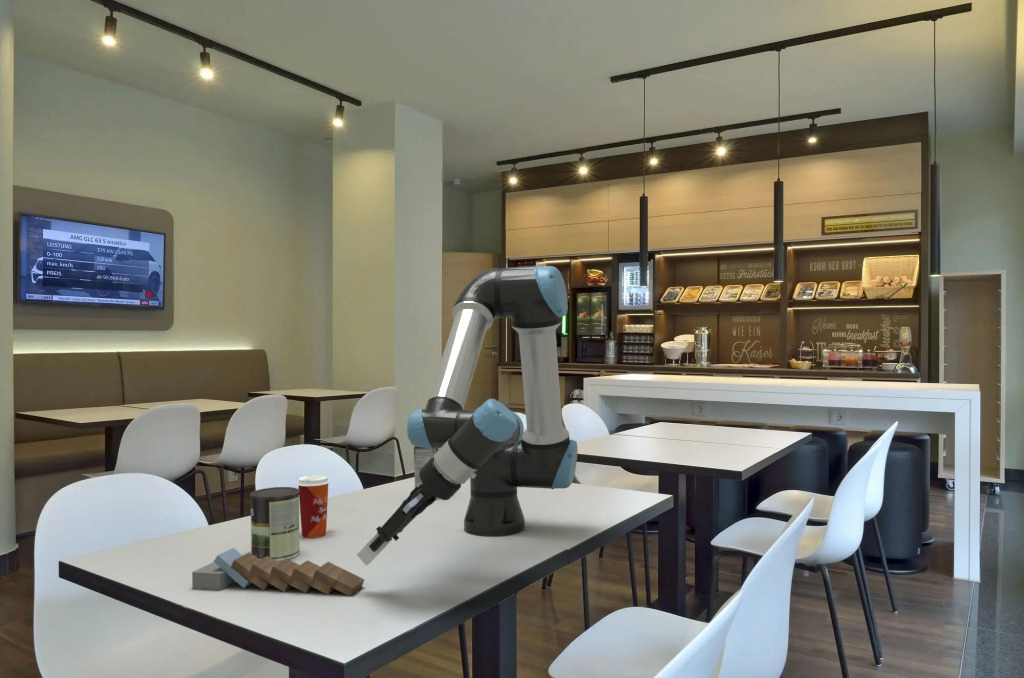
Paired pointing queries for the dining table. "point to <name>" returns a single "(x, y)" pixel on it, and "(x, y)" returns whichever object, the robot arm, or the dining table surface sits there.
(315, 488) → the paper cup
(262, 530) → the coffee can
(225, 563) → the domino
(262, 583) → the domino
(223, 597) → the dining table surface
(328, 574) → the domino
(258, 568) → the domino
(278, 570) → the domino
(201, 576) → the block
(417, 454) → the coffee box
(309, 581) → the domino
